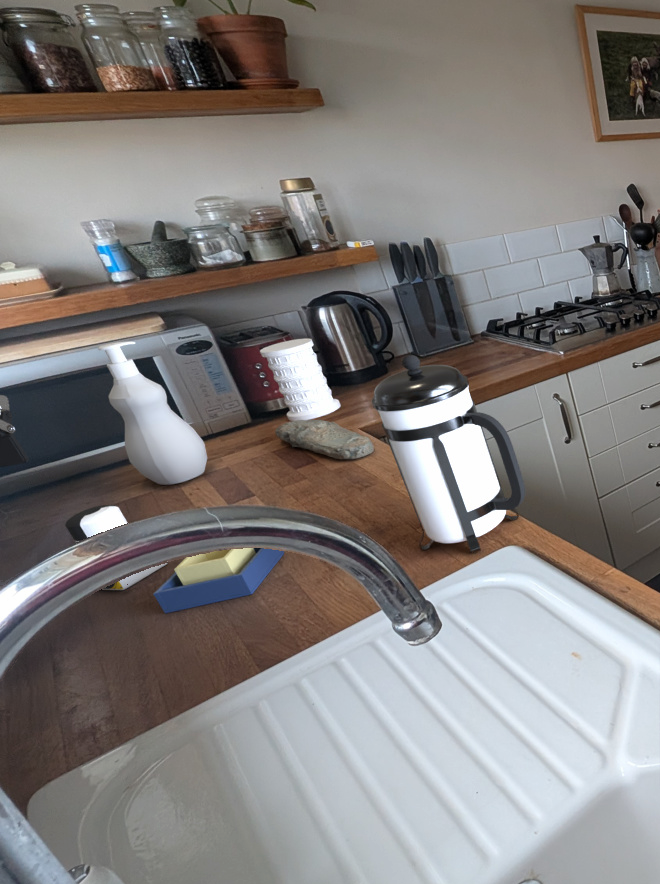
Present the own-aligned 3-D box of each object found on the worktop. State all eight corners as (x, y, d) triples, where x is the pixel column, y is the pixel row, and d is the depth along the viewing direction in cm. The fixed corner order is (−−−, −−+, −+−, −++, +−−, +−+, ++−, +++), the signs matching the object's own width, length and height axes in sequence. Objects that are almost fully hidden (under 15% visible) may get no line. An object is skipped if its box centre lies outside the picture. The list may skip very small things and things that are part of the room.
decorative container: (332, 415, 170) (303, 346, 163) (280, 424, 167) (249, 355, 160) (346, 400, 180) (320, 335, 173) (298, 408, 178) (269, 343, 170)
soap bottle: (230, 470, 144) (164, 337, 132) (164, 496, 135) (86, 356, 123) (195, 459, 152) (129, 333, 140) (131, 483, 143) (55, 351, 131)
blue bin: (165, 613, 97) (153, 594, 95) (206, 569, 107) (196, 551, 105) (252, 594, 99) (241, 574, 97) (284, 553, 109) (275, 534, 108)
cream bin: (190, 597, 99) (173, 569, 97) (213, 572, 105) (198, 545, 103) (240, 586, 100) (225, 558, 98) (260, 562, 106) (246, 535, 104)
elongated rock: (342, 474, 139) (390, 455, 146) (334, 450, 137) (384, 433, 144) (265, 440, 156) (312, 425, 164) (257, 419, 154) (305, 405, 162)
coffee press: (418, 575, 99) (340, 384, 86) (422, 526, 112) (355, 354, 100) (540, 537, 105) (484, 353, 93) (530, 495, 118) (480, 329, 106)
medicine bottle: (87, 590, 105) (44, 524, 100) (134, 562, 111) (96, 500, 106) (123, 591, 104) (82, 524, 99) (169, 563, 110) (132, 499, 105)
